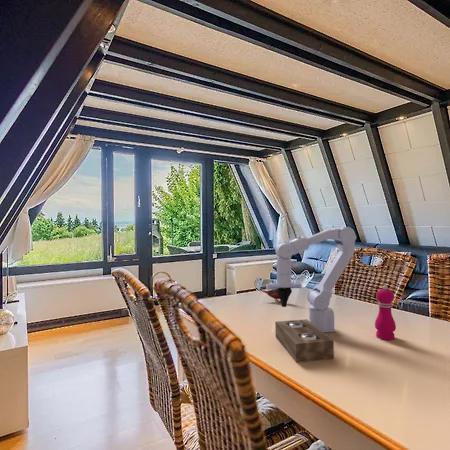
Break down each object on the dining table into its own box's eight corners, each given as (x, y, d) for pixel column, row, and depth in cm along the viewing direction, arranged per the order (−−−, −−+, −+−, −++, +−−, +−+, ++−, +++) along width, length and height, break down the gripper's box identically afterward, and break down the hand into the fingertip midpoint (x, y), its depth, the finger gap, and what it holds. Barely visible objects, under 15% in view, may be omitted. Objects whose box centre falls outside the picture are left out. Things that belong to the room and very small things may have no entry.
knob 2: (312, 349, 115) (312, 332, 115) (318, 355, 110) (318, 337, 110) (299, 350, 114) (298, 333, 114) (304, 356, 109) (304, 338, 109)
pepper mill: (370, 335, 127) (370, 284, 126) (384, 332, 130) (384, 282, 129) (385, 342, 120) (385, 288, 120) (400, 339, 123) (400, 286, 122)
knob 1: (300, 336, 127) (299, 320, 127) (305, 341, 122) (304, 325, 122) (287, 337, 126) (287, 321, 126) (292, 342, 121) (291, 326, 121)
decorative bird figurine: (291, 303, 174) (290, 284, 173) (258, 301, 179) (257, 283, 179) (291, 302, 176) (291, 283, 176) (259, 300, 182) (258, 282, 181)
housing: (307, 334, 130) (307, 319, 130) (333, 358, 108) (333, 340, 108) (275, 336, 128) (275, 321, 128) (296, 362, 106) (295, 343, 106)
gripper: (297, 270, 138) (296, 302, 139) (263, 271, 136) (263, 304, 136) (303, 273, 131) (303, 307, 132) (268, 275, 129) (268, 309, 129)
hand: (283, 306), depth 134 cm, fingers closed
